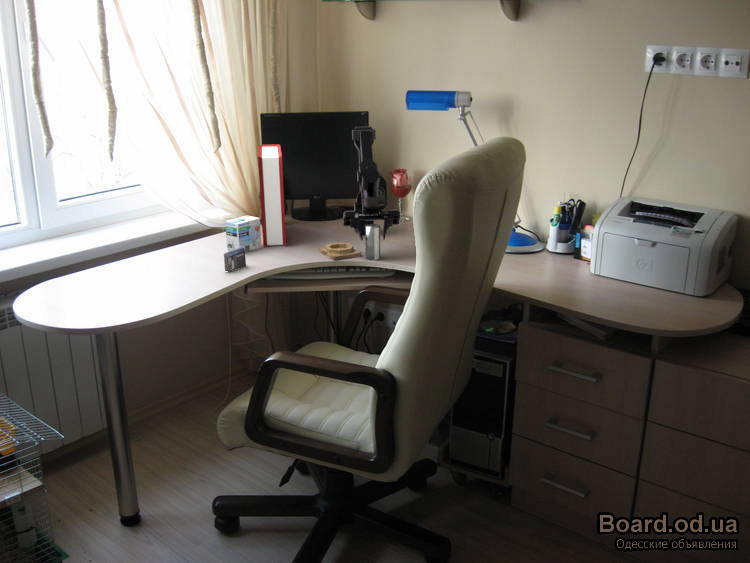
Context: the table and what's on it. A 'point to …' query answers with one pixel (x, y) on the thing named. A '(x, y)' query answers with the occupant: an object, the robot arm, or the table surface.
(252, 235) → the light bulb box
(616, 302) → the table surface
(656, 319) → the table surface
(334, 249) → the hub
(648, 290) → the table surface
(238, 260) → the mini dv tape
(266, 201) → the book
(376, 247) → the shaft
